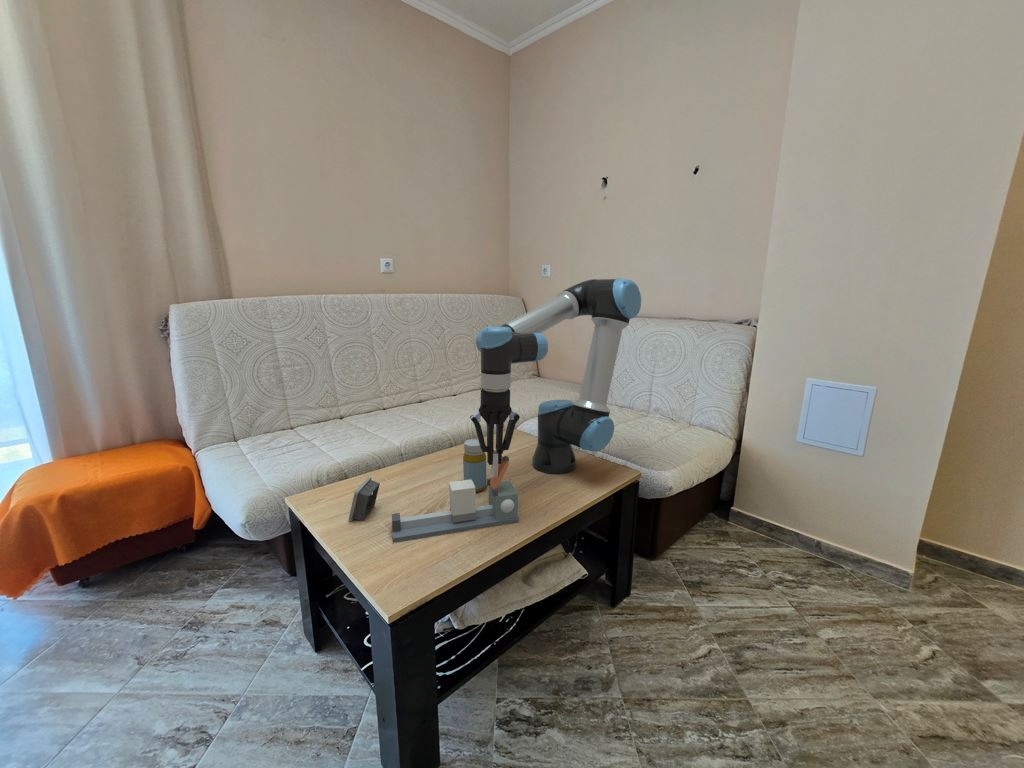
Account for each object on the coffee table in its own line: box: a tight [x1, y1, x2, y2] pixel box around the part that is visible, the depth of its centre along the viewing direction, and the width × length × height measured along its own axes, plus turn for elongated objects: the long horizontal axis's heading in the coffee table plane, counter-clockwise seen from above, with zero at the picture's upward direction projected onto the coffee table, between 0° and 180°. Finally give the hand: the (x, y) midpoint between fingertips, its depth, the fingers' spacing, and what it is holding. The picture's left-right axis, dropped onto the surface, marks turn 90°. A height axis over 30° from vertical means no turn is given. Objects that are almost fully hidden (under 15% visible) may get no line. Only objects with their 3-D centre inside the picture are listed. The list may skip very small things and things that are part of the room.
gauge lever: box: [490, 455, 510, 489], centre depth 111 cm, size 2×4×9 cm, turn 16°
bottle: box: [462, 438, 487, 493], centre depth 128 cm, size 7×7×15 cm
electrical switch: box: [348, 476, 380, 522], centre depth 114 cm, size 9×5×9 cm, turn 176°
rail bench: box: [391, 477, 519, 544], centre depth 109 cm, size 32×9×10 cm, turn 107°
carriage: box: [448, 479, 477, 523], centre depth 109 cm, size 6×5×9 cm
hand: (494, 475), depth 110 cm, fingers closed
